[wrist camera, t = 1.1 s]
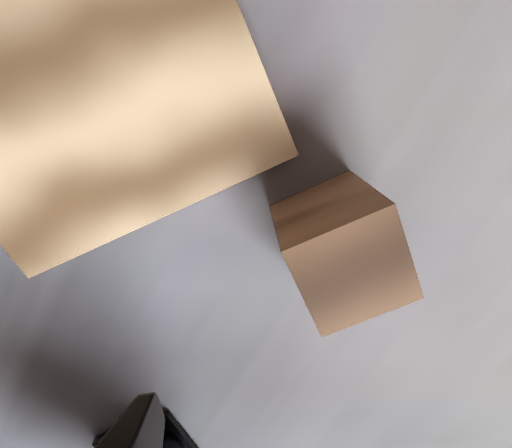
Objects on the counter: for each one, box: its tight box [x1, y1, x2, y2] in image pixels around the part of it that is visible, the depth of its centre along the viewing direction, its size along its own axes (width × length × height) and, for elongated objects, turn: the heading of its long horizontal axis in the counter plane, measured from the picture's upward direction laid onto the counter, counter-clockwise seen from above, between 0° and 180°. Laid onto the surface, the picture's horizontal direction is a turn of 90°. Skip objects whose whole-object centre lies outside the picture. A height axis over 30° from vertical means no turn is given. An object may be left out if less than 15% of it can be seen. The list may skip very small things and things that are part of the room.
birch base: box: [0, 0, 299, 279], centre depth 15 cm, size 16×16×2 cm
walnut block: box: [269, 171, 424, 337], centre depth 17 cm, size 5×5×6 cm
